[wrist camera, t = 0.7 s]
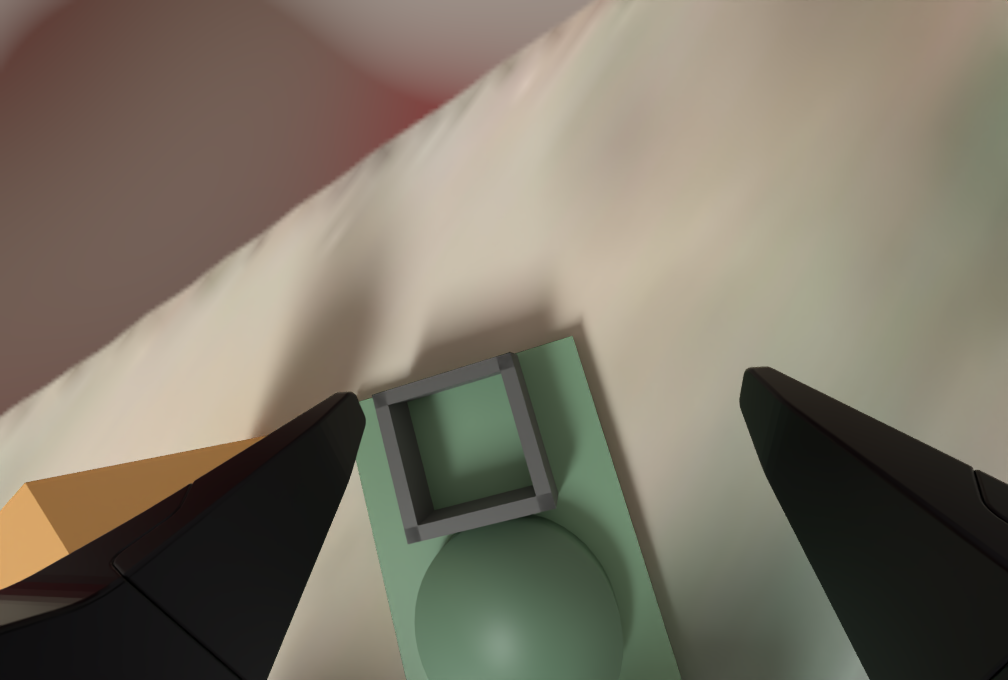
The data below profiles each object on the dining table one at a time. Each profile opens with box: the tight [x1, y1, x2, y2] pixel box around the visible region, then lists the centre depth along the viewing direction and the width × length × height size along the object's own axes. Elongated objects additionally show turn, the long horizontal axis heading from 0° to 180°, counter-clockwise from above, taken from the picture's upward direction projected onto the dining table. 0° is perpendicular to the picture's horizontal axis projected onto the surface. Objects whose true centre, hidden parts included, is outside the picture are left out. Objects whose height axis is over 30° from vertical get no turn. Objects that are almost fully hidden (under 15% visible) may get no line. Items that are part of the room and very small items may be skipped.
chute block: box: [0, 436, 266, 590], centre depth 21 cm, size 5×5×12 cm
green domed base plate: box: [356, 336, 682, 680], centre depth 22 cm, size 20×15×4 cm
